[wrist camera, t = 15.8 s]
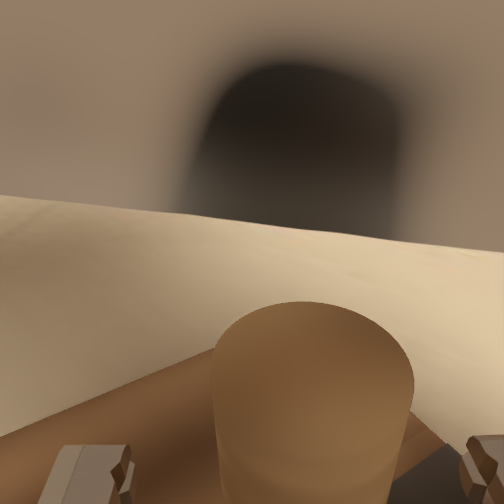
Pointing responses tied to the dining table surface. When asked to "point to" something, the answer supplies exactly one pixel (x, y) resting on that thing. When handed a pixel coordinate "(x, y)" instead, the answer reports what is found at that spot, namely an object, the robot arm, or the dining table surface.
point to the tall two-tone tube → (308, 406)
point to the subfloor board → (189, 444)
